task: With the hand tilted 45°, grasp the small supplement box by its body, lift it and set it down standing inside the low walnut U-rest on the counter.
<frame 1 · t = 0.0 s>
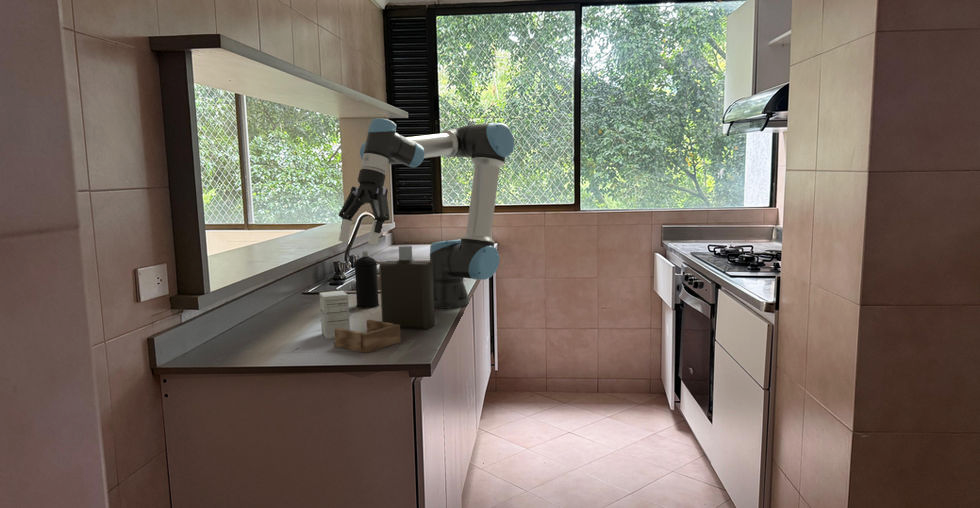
hand: (357, 243, 185), 28 cm above the countertop, tool tilted 20°, fingers open, 13 cm apart
u rest: (367, 344, 182), on the countertop
aerosol can: (367, 306, 234), on the countertop
bottle: (408, 326, 202), on the countertop
supplement box: (335, 335, 193), on the countertop
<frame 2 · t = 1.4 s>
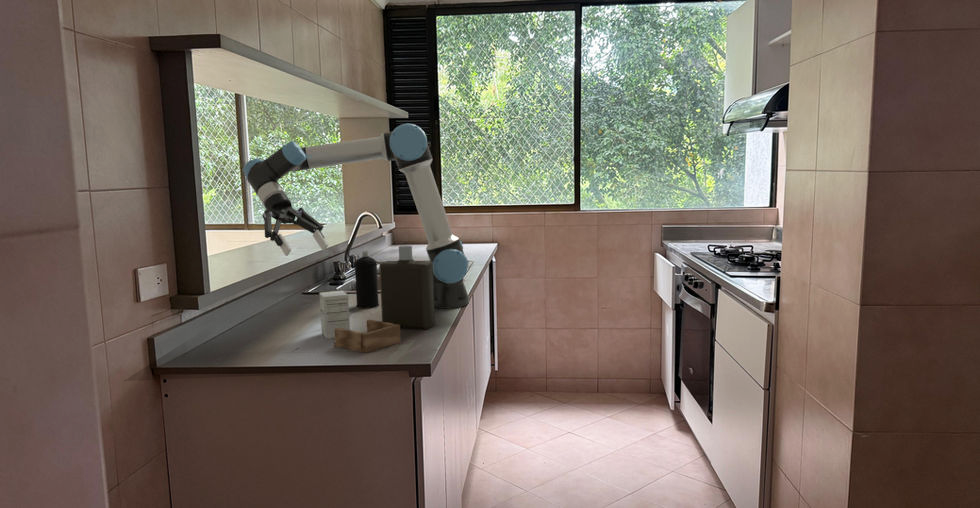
hand: (307, 250, 196), 25 cm above the countertop, tool tilted 45°, fingers open, 13 cm apart
nothing on the countertop moved.
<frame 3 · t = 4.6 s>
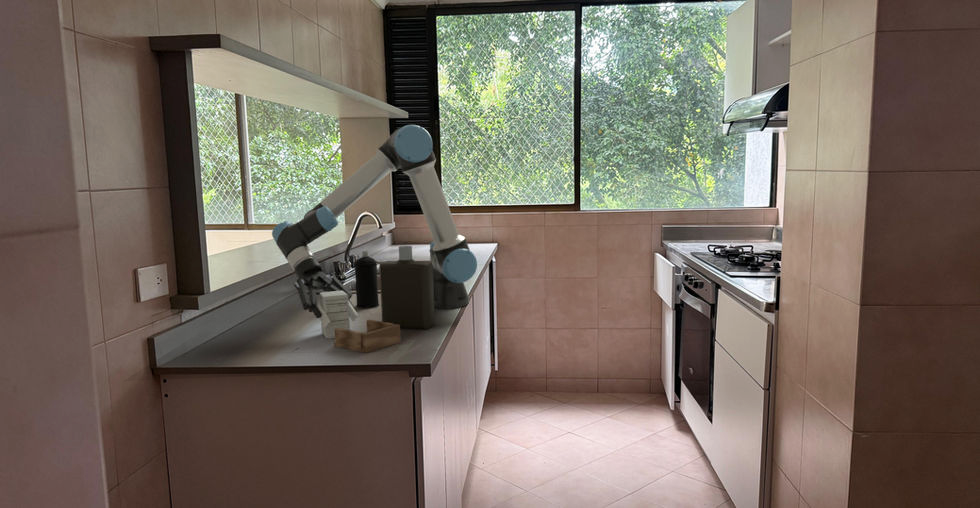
hand: (342, 321, 191), 4 cm above the countertop, tool tilted 45°, fingers closed on supplement box, 10 cm apart
supplement box: (335, 335, 193), on the countertop, touching gripper
everything else where it was.
when the fingers open (7 cm above the countertop, at t = 9.7 s): supplement box drops 1 cm, resting on u rest.
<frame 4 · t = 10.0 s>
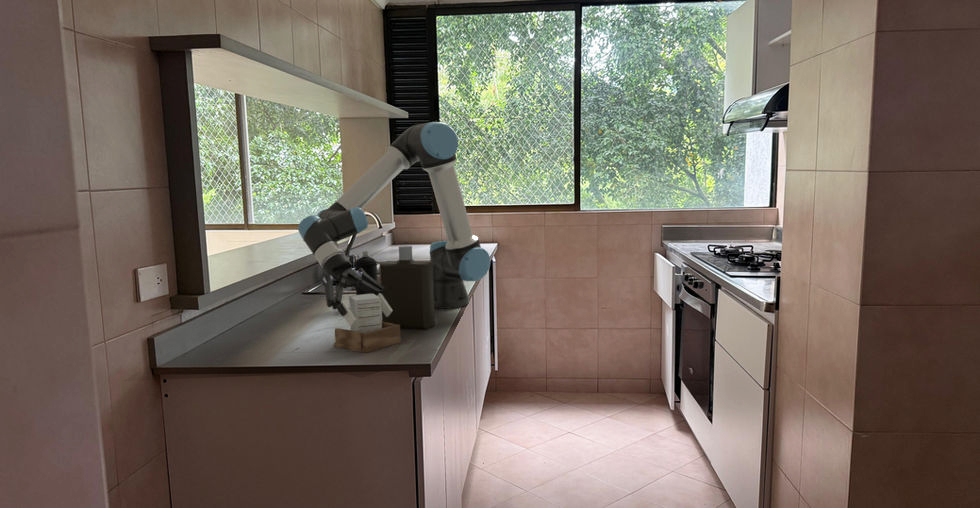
hand: (372, 318, 180), 8 cm above the countertop, tool tilted 45°, fingers open, 13 cm apart
supplement box: (366, 341, 182), point 1 cm above the countertop, touching u rest
everything else where it was.
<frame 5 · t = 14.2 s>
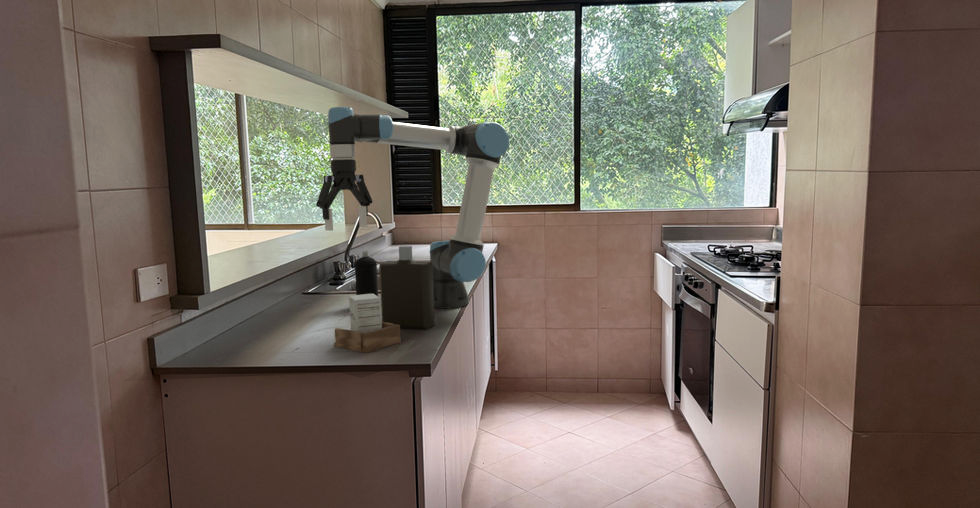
hand: (346, 228, 200), 31 cm above the countertop, tool pointing down, fingers open, 13 cm apart
nothing on the countertop moved.
at the end: supplement box inside the target area on the u rest (0.2 cm from its centre), point 0.8 cm above the u rest's base; supplement box tilted 0°; the gripper is holding nothing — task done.
